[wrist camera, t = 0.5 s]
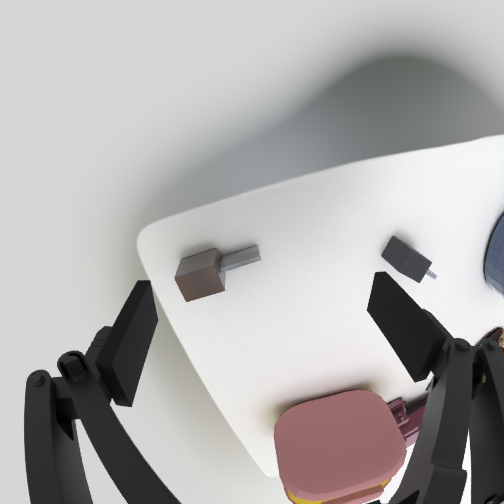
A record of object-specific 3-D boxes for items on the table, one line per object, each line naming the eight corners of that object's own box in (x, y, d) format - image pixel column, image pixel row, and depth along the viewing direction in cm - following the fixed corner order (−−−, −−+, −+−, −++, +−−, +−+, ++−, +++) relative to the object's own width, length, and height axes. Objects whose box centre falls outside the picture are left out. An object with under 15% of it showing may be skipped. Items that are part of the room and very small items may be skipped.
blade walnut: (191, 281, 30) (186, 302, 26) (181, 259, 29) (173, 278, 25) (261, 259, 29) (266, 278, 25) (253, 235, 28) (257, 251, 24)
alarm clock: (275, 434, 44) (289, 523, 26) (268, 404, 39) (284, 513, 22) (369, 410, 44) (402, 490, 26) (377, 376, 39) (423, 470, 22)
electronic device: (446, 388, 49) (467, 414, 40) (351, 442, 47) (369, 476, 37) (458, 360, 44) (484, 387, 35) (354, 419, 42) (376, 459, 33)
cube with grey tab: (380, 255, 30) (398, 271, 26) (392, 235, 29) (411, 249, 26) (419, 277, 32) (437, 293, 28) (430, 259, 31) (449, 274, 27)
